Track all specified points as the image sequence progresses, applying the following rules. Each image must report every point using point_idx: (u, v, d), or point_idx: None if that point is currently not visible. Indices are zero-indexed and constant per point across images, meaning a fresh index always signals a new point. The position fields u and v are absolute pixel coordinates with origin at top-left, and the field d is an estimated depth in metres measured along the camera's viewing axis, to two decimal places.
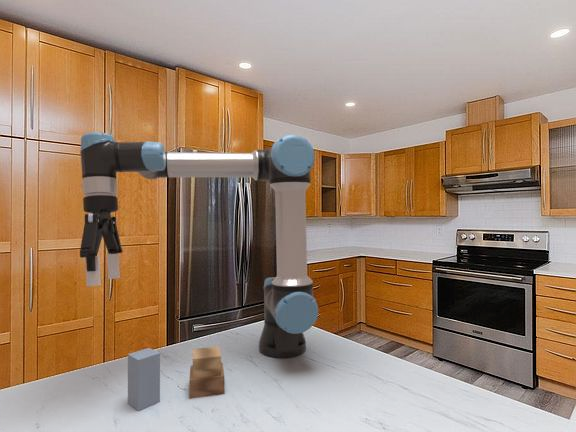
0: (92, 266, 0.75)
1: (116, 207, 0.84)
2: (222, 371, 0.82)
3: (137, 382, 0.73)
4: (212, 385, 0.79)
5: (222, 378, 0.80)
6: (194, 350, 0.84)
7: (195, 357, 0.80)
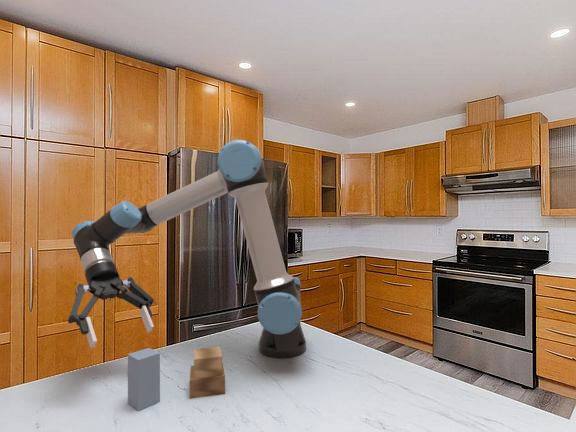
0: (81, 328, 0.77)
1: (105, 269, 0.88)
2: (222, 371, 0.82)
3: (137, 382, 0.73)
4: (212, 385, 0.79)
5: (222, 378, 0.80)
6: (195, 350, 0.84)
7: (196, 357, 0.80)
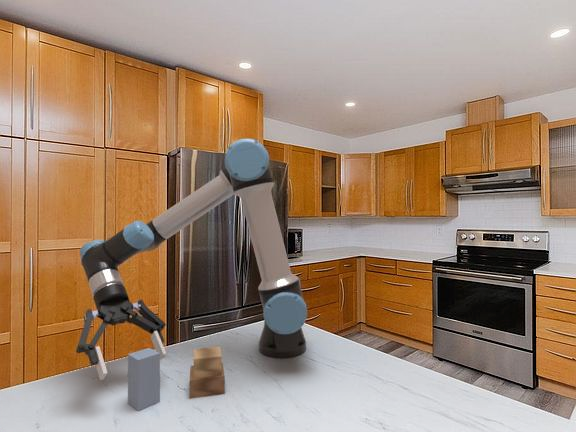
0: (91, 358, 0.73)
1: (115, 292, 0.84)
2: (222, 371, 0.82)
3: (137, 382, 0.73)
4: (212, 385, 0.79)
5: (222, 378, 0.80)
6: (195, 350, 0.84)
7: (196, 357, 0.80)
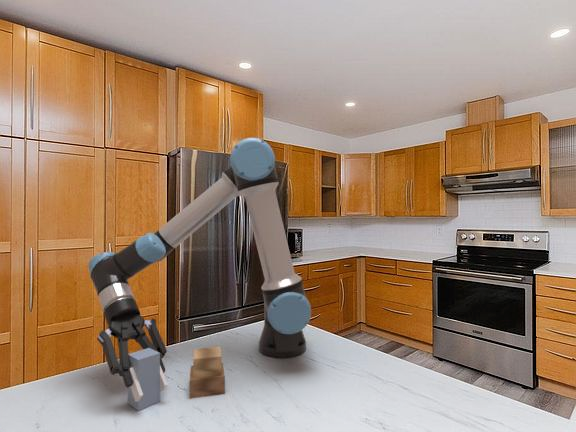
0: (126, 380, 0.72)
1: (126, 307, 0.81)
2: (222, 371, 0.82)
3: None
4: (212, 385, 0.79)
5: (222, 378, 0.80)
6: (195, 350, 0.84)
7: (196, 357, 0.80)
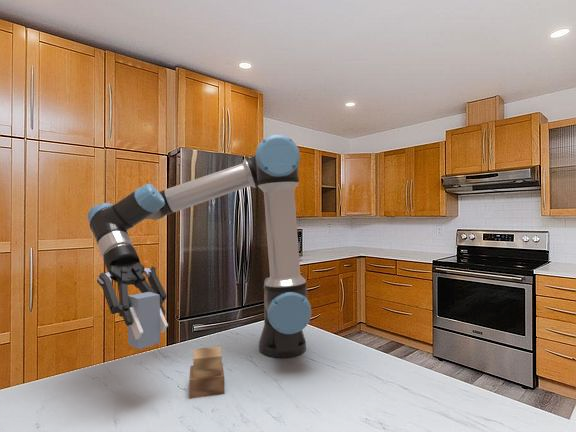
0: (126, 318, 0.73)
1: (126, 253, 0.81)
2: (222, 371, 0.82)
3: None
4: (212, 385, 0.79)
5: (222, 378, 0.80)
6: (195, 350, 0.84)
7: (196, 357, 0.80)
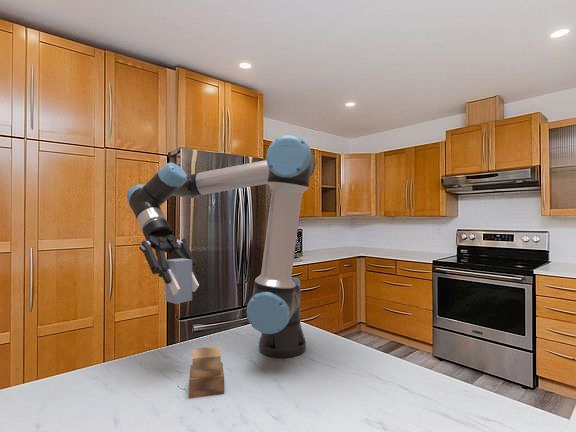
0: (165, 278, 0.87)
1: (162, 225, 0.96)
2: (222, 371, 0.82)
3: None
4: (212, 384, 0.79)
5: (222, 378, 0.80)
6: (194, 349, 0.85)
7: (195, 356, 0.80)
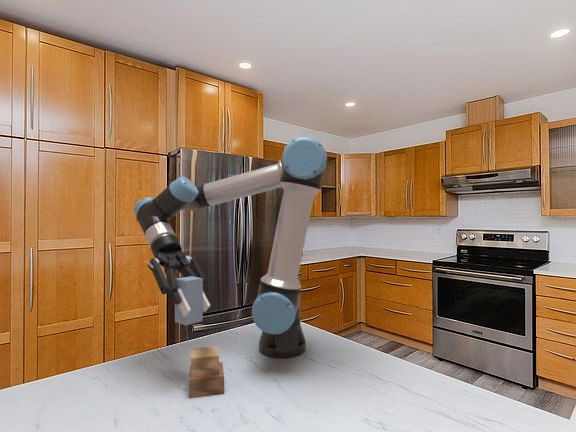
0: (175, 298, 0.83)
1: (171, 241, 0.92)
2: (222, 371, 0.82)
3: None
4: (212, 384, 0.79)
5: (222, 378, 0.80)
6: (193, 349, 0.85)
7: (193, 356, 0.80)
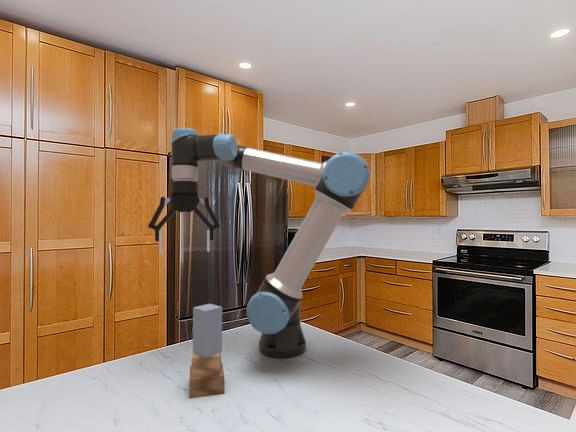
0: (155, 237, 0.98)
1: (182, 190, 0.97)
2: (222, 371, 0.82)
3: (204, 331, 0.80)
4: (212, 384, 0.79)
5: (222, 378, 0.80)
6: None
7: (194, 355, 0.81)
